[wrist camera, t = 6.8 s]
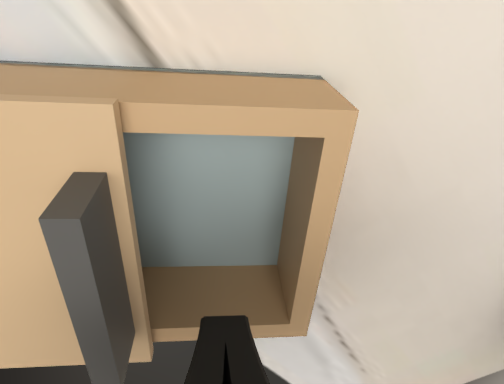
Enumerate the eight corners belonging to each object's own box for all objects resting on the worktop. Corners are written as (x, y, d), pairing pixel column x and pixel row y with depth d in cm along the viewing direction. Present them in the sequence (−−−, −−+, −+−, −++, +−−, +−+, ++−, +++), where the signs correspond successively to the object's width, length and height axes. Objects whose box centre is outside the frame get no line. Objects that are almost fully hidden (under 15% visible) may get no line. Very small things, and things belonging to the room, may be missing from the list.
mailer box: (320, 75, 16) (358, 110, 11) (288, 267, 22) (306, 336, 18) (-171, 52, 13) (-348, 85, 9) (-50, 272, 20) (-123, 352, 15)
